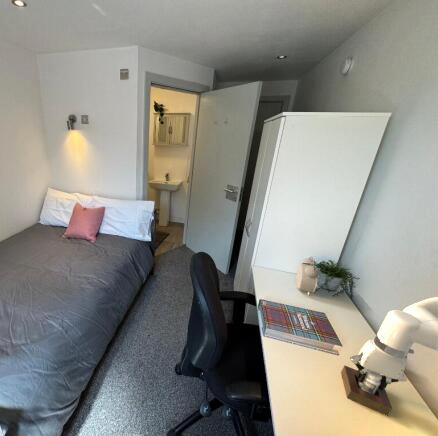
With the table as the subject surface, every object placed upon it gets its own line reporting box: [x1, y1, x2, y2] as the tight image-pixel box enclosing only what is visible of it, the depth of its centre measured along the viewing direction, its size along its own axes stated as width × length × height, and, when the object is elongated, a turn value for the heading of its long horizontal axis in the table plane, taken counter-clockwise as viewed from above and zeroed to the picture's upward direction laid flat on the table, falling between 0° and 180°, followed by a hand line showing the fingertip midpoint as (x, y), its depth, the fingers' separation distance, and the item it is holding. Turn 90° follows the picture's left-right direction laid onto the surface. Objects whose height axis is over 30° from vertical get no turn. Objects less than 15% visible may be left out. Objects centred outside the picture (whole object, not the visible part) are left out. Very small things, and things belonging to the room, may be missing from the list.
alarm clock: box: [295, 255, 321, 296], centre depth 134 cm, size 16×9×22 cm, turn 155°
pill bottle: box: [357, 370, 382, 395], centre depth 81 cm, size 5×5×8 cm
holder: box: [340, 364, 393, 417], centre depth 83 cm, size 11×11×4 cm
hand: (369, 382), depth 82 cm, fingers closed on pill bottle, 4 cm apart
